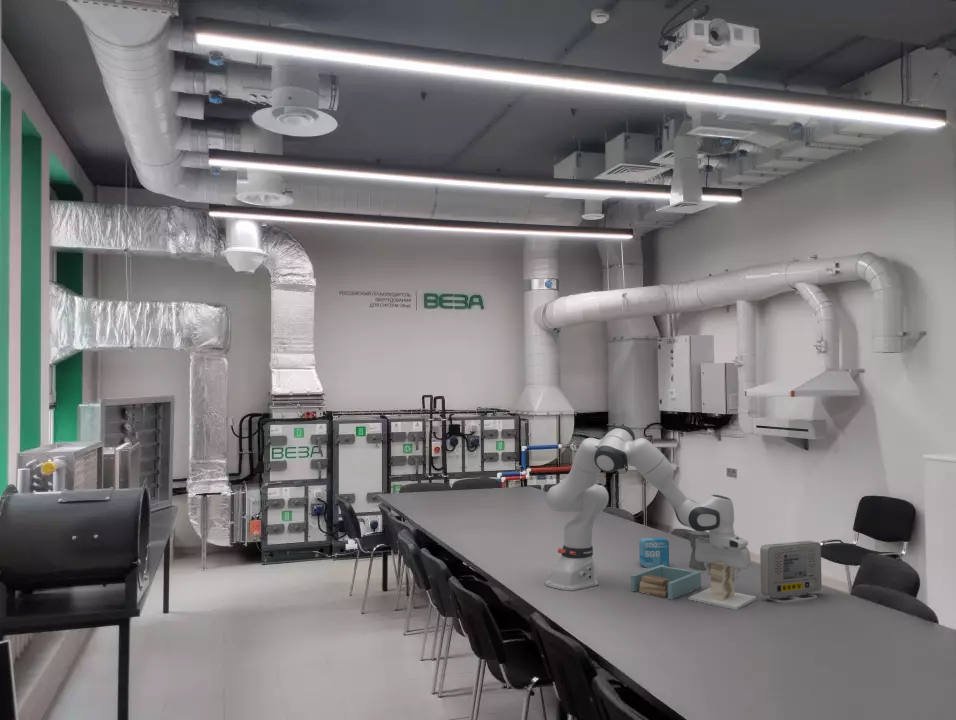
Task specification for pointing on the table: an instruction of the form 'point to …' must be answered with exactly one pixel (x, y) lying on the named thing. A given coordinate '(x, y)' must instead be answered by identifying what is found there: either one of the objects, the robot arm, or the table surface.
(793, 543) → the network device
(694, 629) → the table surface
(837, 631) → the table surface
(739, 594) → the pad
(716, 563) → the beige wooden block
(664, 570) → the tray
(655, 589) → the offcut stack
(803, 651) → the table surface
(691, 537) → the coffeepot
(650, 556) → the data package
